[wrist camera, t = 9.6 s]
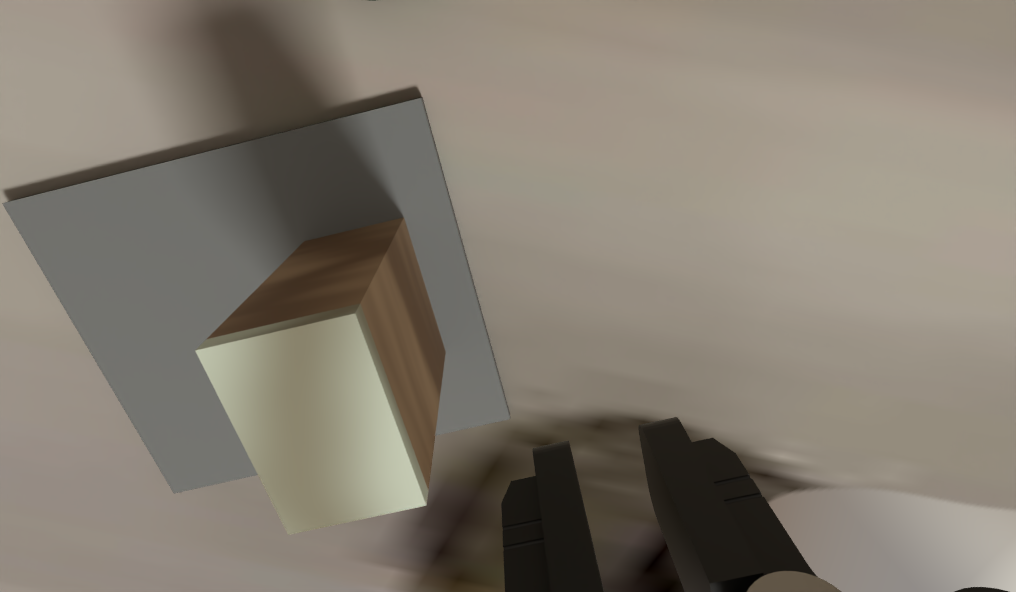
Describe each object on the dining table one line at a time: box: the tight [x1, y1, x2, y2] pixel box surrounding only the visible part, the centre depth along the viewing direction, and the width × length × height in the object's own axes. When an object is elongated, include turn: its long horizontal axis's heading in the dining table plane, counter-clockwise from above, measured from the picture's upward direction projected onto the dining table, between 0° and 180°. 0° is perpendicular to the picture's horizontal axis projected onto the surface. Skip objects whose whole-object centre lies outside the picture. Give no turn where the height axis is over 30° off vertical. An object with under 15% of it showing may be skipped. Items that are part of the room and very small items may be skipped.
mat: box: [2, 97, 510, 493], centre depth 23 cm, size 16×14×1 cm
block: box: [195, 218, 446, 535], centre depth 19 cm, size 4×6×9 cm, turn 13°
